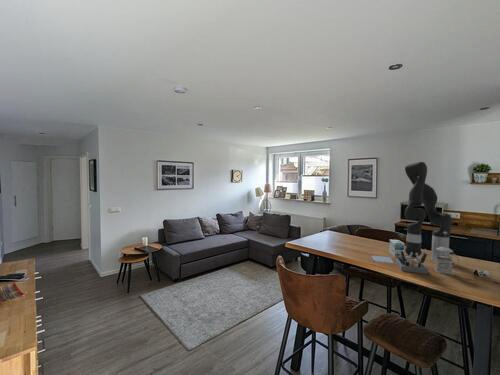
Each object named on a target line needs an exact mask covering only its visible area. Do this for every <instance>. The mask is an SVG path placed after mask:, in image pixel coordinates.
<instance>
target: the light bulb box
mask: <svg viewBox="0 0 500 375" xmlns="http://www.w3.org/2000/svg"><path fill="white" fill-rule="evenodd" d="M405 249H406V243H404V242H403V241H401V240H400V239H389V250H388V251H389V254H390V255H391V256H393V257H394V258H402V256H401V252H400V250H402V251H403V250H405ZM405 255H406V254H404V256H405Z"/></svg>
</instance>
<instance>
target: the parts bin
mask: <svg viewBox="0 0 500 375" xmlns="http://www.w3.org/2000/svg"><path fill="white" fill-rule="evenodd" d="M395 263H396V265H397V266H398V267H399V269H400V271H403V272H409V273H418V274H424V275H426V274H427V275H429V268H428V267H427V266H426V265H425V264H424V263H420V267H412V266H406V265H405V261H404V260H403V259H402V257H395Z"/></svg>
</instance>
